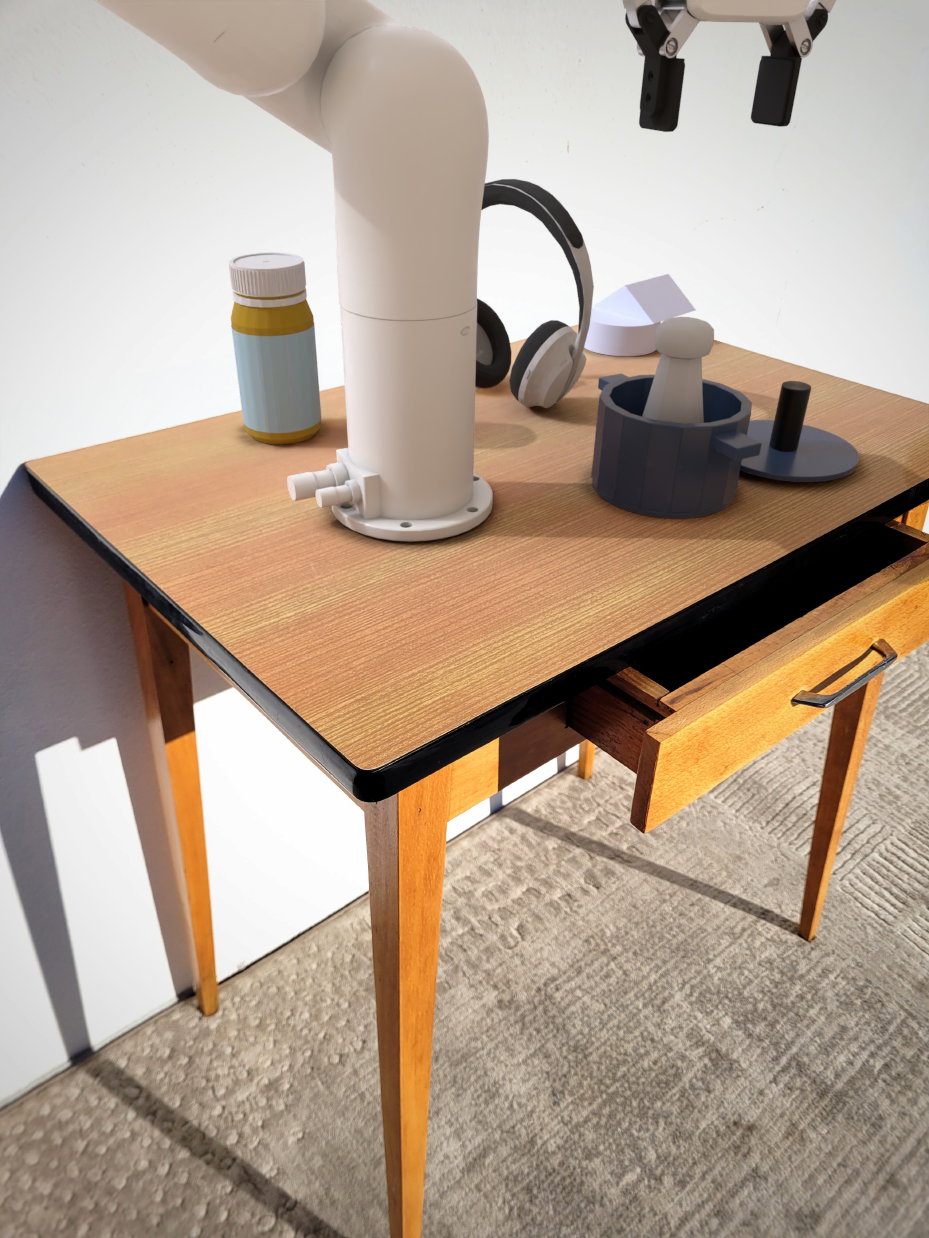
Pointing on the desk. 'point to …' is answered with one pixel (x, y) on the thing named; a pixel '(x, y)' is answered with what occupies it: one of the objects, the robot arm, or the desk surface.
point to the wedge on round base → (634, 317)
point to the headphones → (553, 346)
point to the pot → (669, 450)
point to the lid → (797, 443)
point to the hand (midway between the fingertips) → (715, 127)
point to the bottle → (275, 348)
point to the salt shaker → (679, 370)
